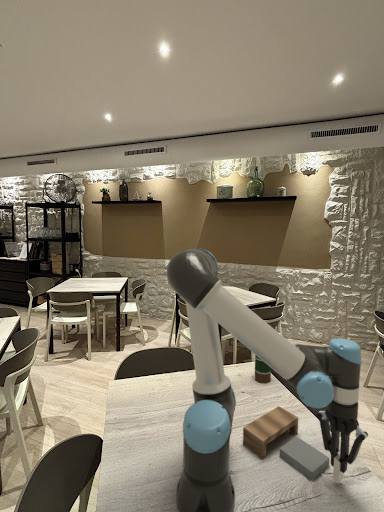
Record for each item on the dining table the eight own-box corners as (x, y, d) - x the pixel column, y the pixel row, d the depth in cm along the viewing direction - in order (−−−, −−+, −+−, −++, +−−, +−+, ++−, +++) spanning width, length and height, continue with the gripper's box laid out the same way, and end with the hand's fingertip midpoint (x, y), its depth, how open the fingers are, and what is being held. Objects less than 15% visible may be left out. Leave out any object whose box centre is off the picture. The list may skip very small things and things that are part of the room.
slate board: (311, 482, 81) (312, 472, 81) (279, 457, 90) (279, 448, 90) (329, 467, 86) (329, 457, 86) (296, 445, 95) (297, 436, 95)
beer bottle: (267, 385, 132) (269, 333, 130) (251, 380, 136) (252, 330, 134) (273, 378, 138) (274, 329, 136) (257, 373, 142) (258, 326, 140)
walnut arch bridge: (262, 459, 89) (263, 441, 88) (242, 444, 95) (243, 427, 95) (297, 433, 100) (298, 417, 100) (278, 421, 107) (278, 406, 106)
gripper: (374, 404, 75) (369, 488, 77) (325, 383, 86) (322, 458, 88) (362, 415, 71) (357, 504, 73) (312, 391, 81) (308, 470, 83)
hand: (337, 479), depth 80 cm, fingers closed
